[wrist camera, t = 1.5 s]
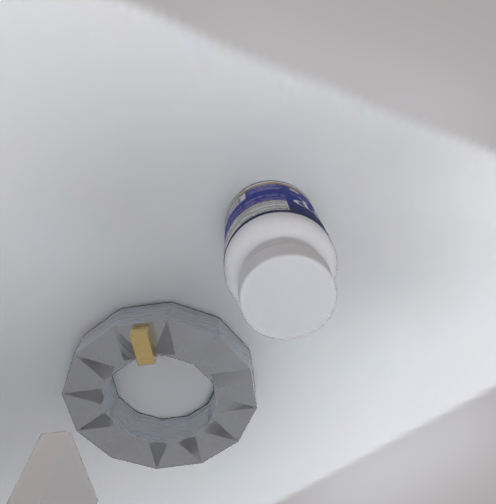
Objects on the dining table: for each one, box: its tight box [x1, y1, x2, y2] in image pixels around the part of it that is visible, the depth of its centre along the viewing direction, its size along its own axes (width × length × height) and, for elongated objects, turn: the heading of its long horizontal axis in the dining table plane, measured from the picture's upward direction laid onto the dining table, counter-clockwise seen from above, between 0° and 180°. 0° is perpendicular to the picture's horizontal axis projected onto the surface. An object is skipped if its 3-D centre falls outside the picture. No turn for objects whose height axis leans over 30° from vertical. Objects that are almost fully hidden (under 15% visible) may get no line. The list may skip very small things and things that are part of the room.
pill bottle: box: [224, 181, 337, 340], centre depth 22 cm, size 5×5×9 cm
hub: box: [62, 302, 257, 469], centre depth 29 cm, size 12×12×3 cm
